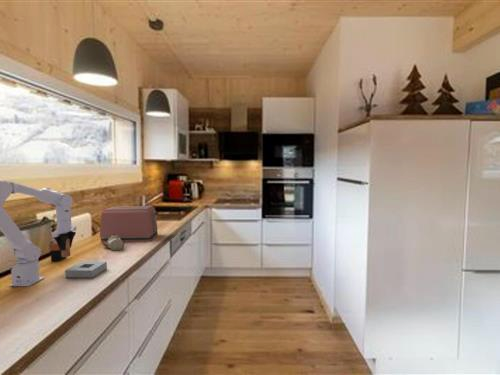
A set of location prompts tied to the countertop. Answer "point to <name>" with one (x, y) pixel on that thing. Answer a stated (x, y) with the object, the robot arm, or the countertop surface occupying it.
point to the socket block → (86, 270)
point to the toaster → (129, 223)
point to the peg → (67, 250)
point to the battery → (55, 252)
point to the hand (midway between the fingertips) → (65, 249)
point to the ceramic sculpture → (114, 242)
